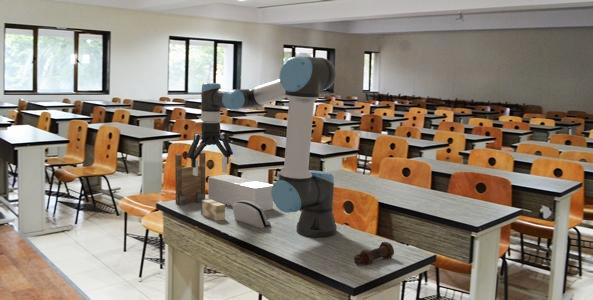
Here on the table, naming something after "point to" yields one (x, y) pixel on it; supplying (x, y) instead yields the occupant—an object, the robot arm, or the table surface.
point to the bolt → (374, 254)
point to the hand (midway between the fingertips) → (210, 173)
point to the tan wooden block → (213, 209)
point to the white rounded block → (250, 213)
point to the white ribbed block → (239, 191)
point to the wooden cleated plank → (189, 181)
